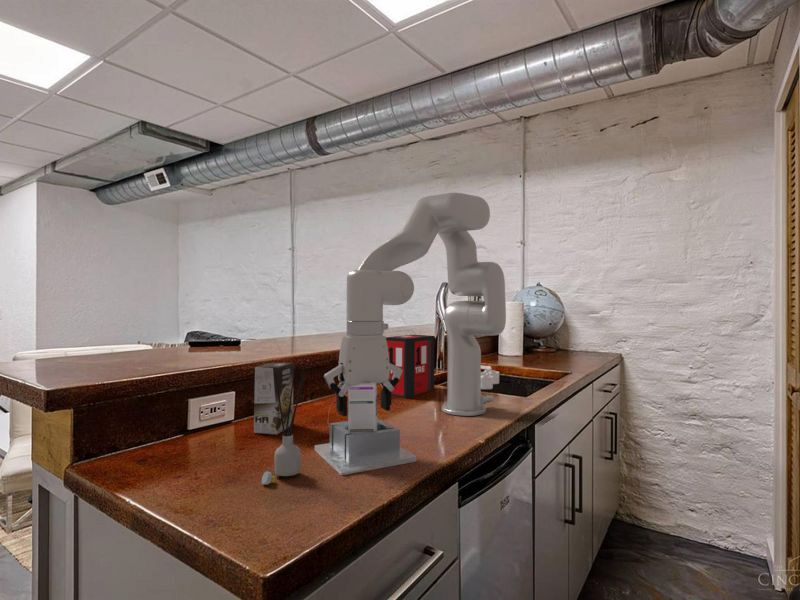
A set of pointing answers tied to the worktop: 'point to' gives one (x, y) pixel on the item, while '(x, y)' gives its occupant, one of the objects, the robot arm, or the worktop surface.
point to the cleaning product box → (412, 364)
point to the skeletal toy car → (489, 377)
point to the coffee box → (272, 397)
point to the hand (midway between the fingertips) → (364, 412)
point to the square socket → (363, 448)
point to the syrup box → (362, 408)
